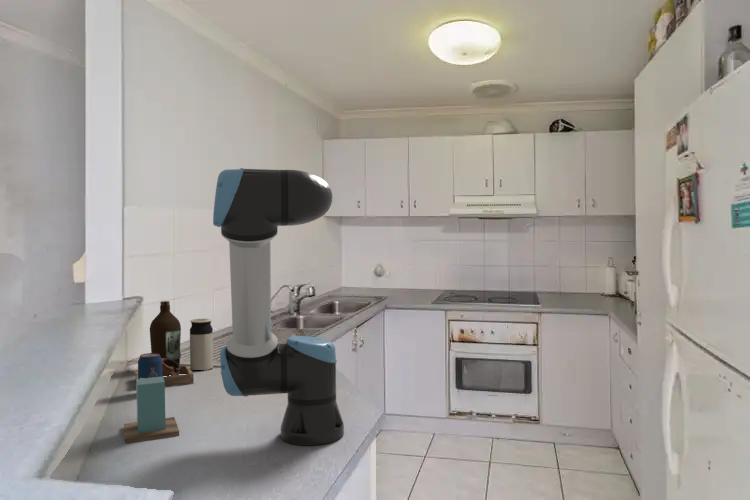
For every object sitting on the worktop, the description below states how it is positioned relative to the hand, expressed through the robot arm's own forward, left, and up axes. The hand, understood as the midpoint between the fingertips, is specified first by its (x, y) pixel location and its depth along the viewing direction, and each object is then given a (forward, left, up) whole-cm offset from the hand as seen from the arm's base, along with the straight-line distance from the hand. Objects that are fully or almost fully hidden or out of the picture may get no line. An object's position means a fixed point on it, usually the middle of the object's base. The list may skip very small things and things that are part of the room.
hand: (256, 302), depth 163 cm
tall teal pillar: (-15, +30, -28) cm, 43 cm away
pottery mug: (+37, +24, -29) cm, 53 cm away
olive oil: (+53, +21, -29) cm, 64 cm away
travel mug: (+49, +9, -29) cm, 58 cm away
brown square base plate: (-15, +30, -29) cm, 44 cm away
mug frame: (+36, +23, -29) cm, 51 cm away
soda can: (+22, +28, -29) cm, 46 cm away
